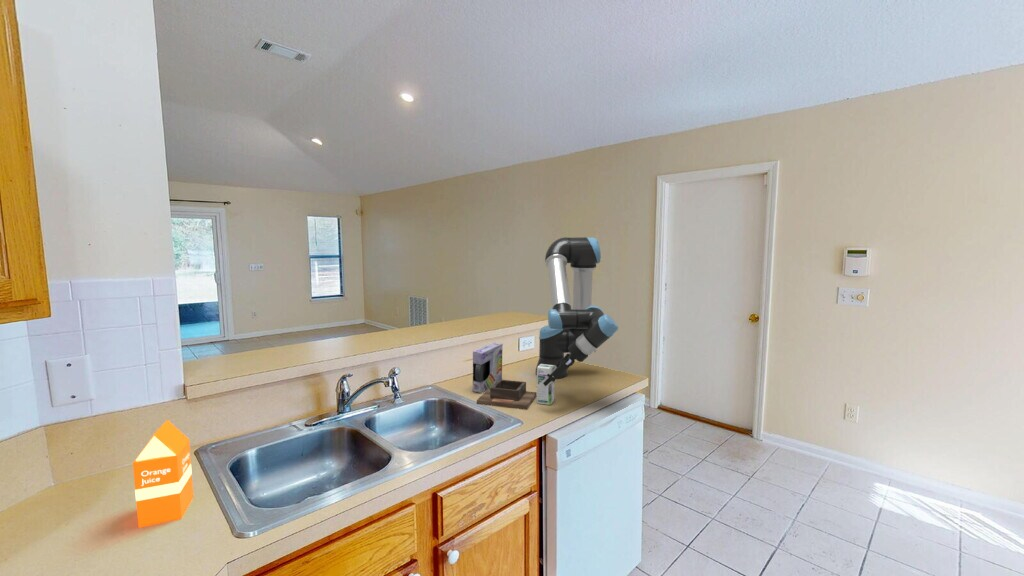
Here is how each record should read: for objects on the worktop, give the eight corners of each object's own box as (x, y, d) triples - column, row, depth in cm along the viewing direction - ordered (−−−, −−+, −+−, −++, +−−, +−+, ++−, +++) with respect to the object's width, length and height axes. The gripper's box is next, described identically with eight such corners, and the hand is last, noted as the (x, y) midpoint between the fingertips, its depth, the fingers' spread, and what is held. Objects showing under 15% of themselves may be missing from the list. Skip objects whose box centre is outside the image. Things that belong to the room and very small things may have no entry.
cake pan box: (480, 394, 170) (480, 352, 168) (470, 392, 172) (470, 350, 170) (503, 381, 187) (503, 342, 185) (493, 379, 189) (493, 341, 187)
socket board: (490, 391, 174) (489, 378, 173) (536, 395, 168) (536, 382, 167) (476, 403, 159) (476, 389, 159) (527, 409, 154) (527, 395, 153)
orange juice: (137, 528, 89) (129, 438, 87) (153, 504, 97) (146, 422, 95) (182, 518, 92) (175, 431, 90) (194, 496, 100) (188, 416, 98)
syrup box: (536, 403, 159) (536, 366, 158) (540, 398, 165) (540, 363, 164) (550, 405, 158) (551, 368, 156) (554, 400, 163) (555, 364, 162)
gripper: (585, 364, 142) (542, 402, 148) (592, 348, 166) (555, 381, 172) (570, 348, 143) (527, 386, 149) (579, 334, 167) (542, 367, 173)
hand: (542, 383), depth 161 cm, fingers open, 13 cm apart
